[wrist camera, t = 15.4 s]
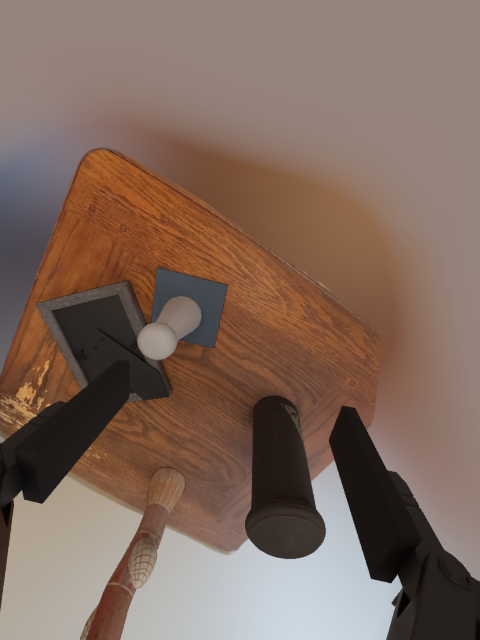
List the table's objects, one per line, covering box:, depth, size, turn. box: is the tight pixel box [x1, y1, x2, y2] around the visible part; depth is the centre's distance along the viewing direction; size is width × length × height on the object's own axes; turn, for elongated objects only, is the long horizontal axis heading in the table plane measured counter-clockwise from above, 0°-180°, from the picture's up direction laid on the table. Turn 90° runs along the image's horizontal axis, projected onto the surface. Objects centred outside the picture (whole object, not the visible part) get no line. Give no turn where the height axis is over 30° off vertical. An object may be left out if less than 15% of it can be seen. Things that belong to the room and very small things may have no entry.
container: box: [245, 396, 326, 559], centre depth 36 cm, size 9×9×20 cm
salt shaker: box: [137, 296, 201, 360], centre depth 33 cm, size 6×6×13 cm
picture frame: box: [36, 280, 172, 403], centre depth 42 cm, size 16×2×21 cm
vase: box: [80, 467, 185, 640], centre depth 39 cm, size 10×7×30 cm
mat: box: [151, 268, 228, 348], centre depth 39 cm, size 11×11×1 cm
